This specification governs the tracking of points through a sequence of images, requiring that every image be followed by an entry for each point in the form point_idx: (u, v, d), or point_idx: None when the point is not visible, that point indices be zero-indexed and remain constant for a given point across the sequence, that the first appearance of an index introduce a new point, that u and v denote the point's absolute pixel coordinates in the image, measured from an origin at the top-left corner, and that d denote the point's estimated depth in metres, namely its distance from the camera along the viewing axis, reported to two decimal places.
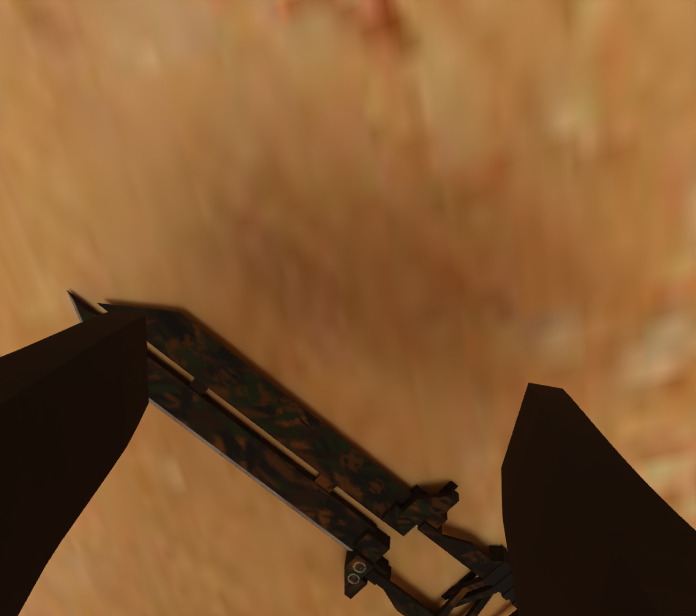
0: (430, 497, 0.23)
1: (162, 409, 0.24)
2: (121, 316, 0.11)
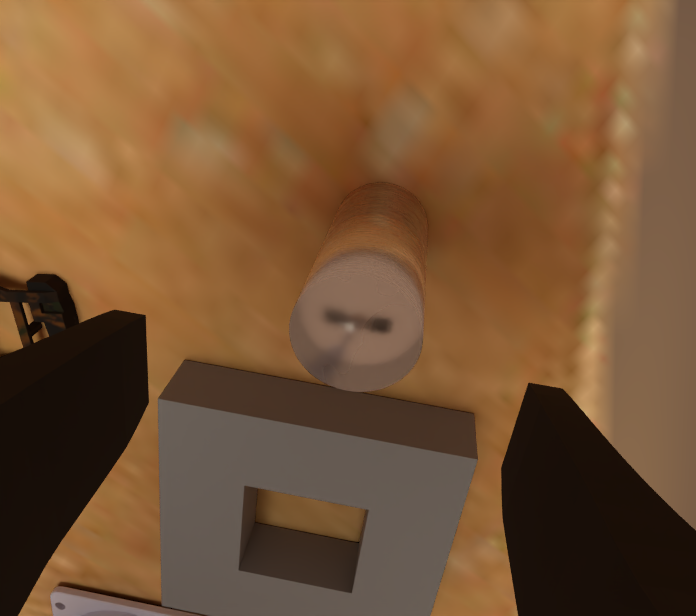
0: None
1: None
2: (121, 316, 0.11)
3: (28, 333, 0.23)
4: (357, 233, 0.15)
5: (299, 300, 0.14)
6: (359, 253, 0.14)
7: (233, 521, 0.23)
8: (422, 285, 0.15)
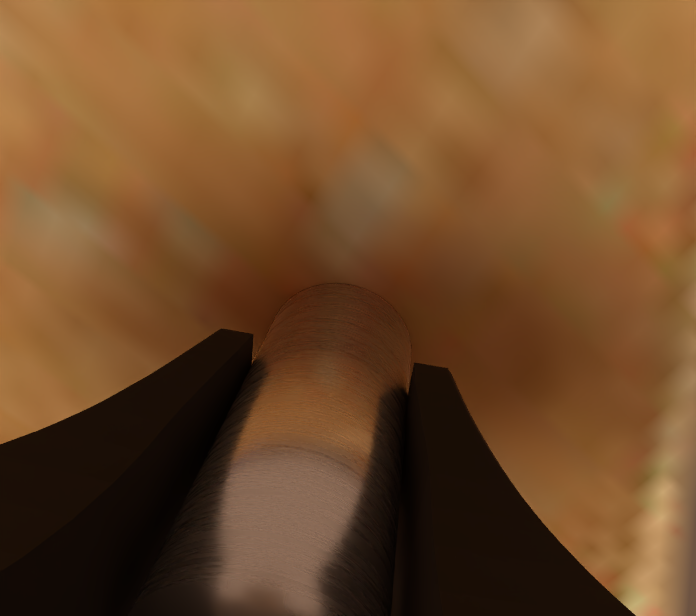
0: None
1: None
2: (232, 335, 0.11)
3: None
4: (273, 422, 0.08)
5: (131, 613, 0.07)
6: (263, 495, 0.07)
7: None
8: (390, 526, 0.08)
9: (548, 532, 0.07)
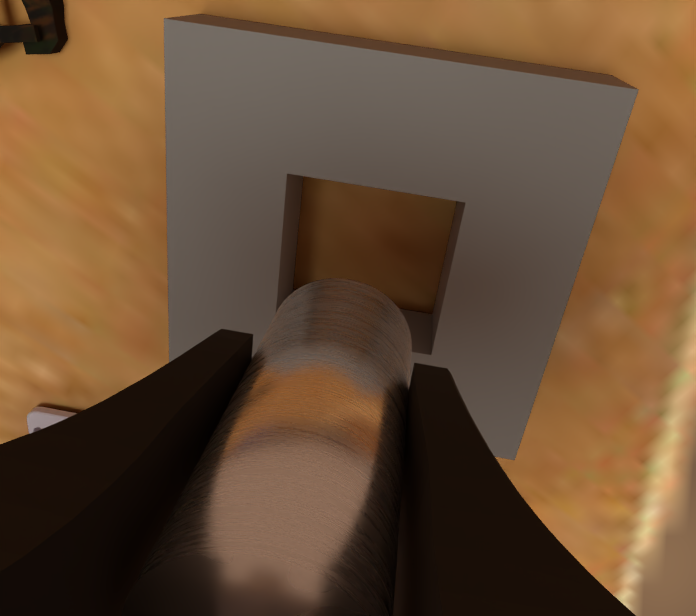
0: None
1: None
2: (232, 336, 0.11)
3: None
4: (276, 406, 0.08)
5: (134, 589, 0.07)
6: (267, 474, 0.07)
7: (269, 241, 0.17)
8: (393, 510, 0.08)
9: (548, 532, 0.07)
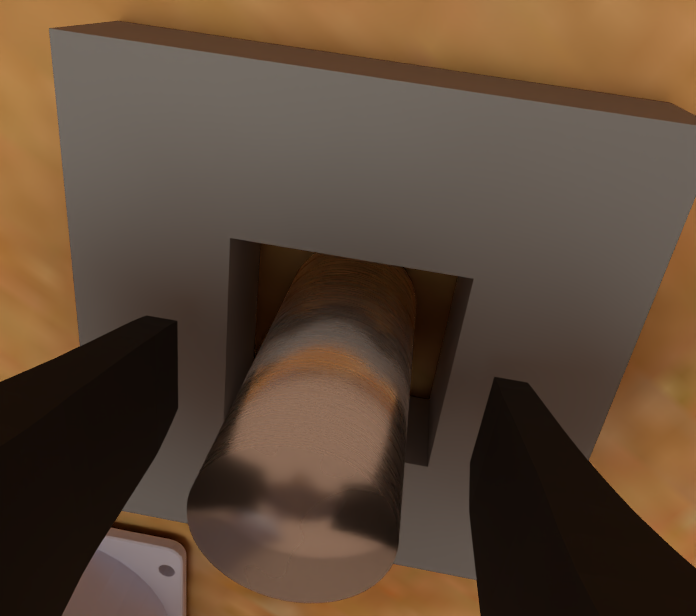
0: None
1: None
2: (154, 322, 0.11)
3: None
4: (304, 345, 0.10)
5: (198, 478, 0.08)
6: (300, 393, 0.09)
7: (211, 323, 0.13)
8: (401, 428, 0.10)
9: (680, 557, 0.07)
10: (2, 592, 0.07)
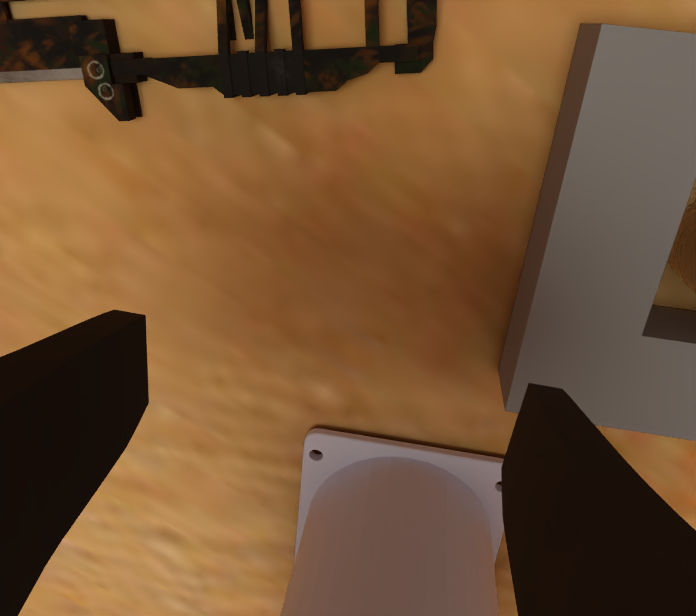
0: None
1: None
2: (121, 316, 0.11)
3: None
4: None
5: None
6: None
7: (659, 246, 0.16)
8: None
9: None
10: None
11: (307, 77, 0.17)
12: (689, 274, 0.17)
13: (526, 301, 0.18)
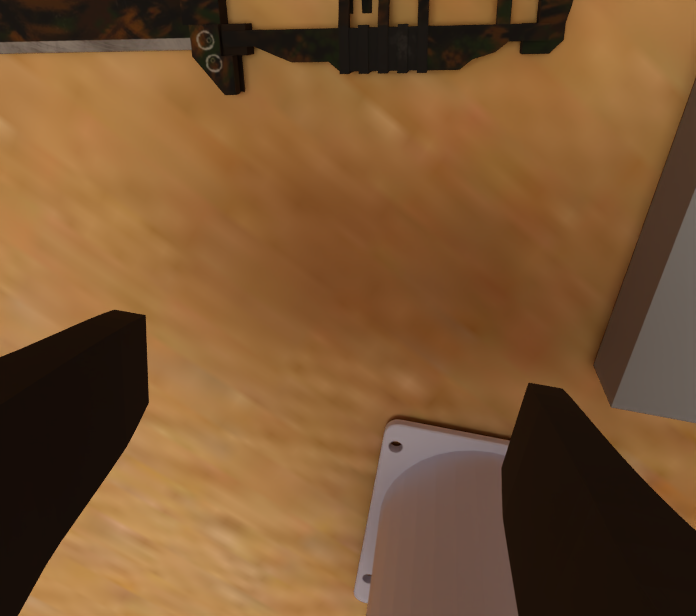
0: None
1: None
2: (121, 316, 0.11)
3: None
4: None
5: None
6: None
7: None
8: None
9: None
10: None
11: (430, 54, 0.17)
12: None
13: (642, 295, 0.18)
